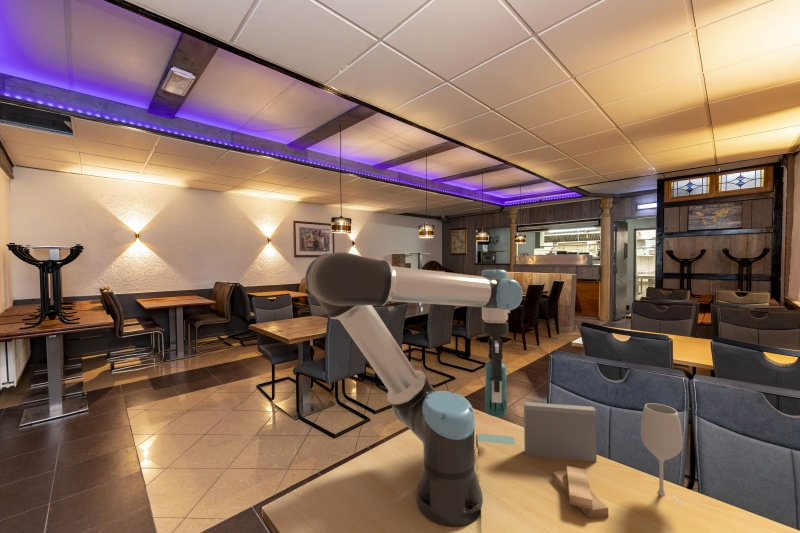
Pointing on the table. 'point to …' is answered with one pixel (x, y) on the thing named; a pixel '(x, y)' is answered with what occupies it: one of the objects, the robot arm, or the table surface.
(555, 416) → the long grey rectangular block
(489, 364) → the beverage bottle
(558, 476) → the offcut middle
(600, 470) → the table surface
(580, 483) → the offcut top
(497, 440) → the mat
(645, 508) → the table surface
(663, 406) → the wineglass
